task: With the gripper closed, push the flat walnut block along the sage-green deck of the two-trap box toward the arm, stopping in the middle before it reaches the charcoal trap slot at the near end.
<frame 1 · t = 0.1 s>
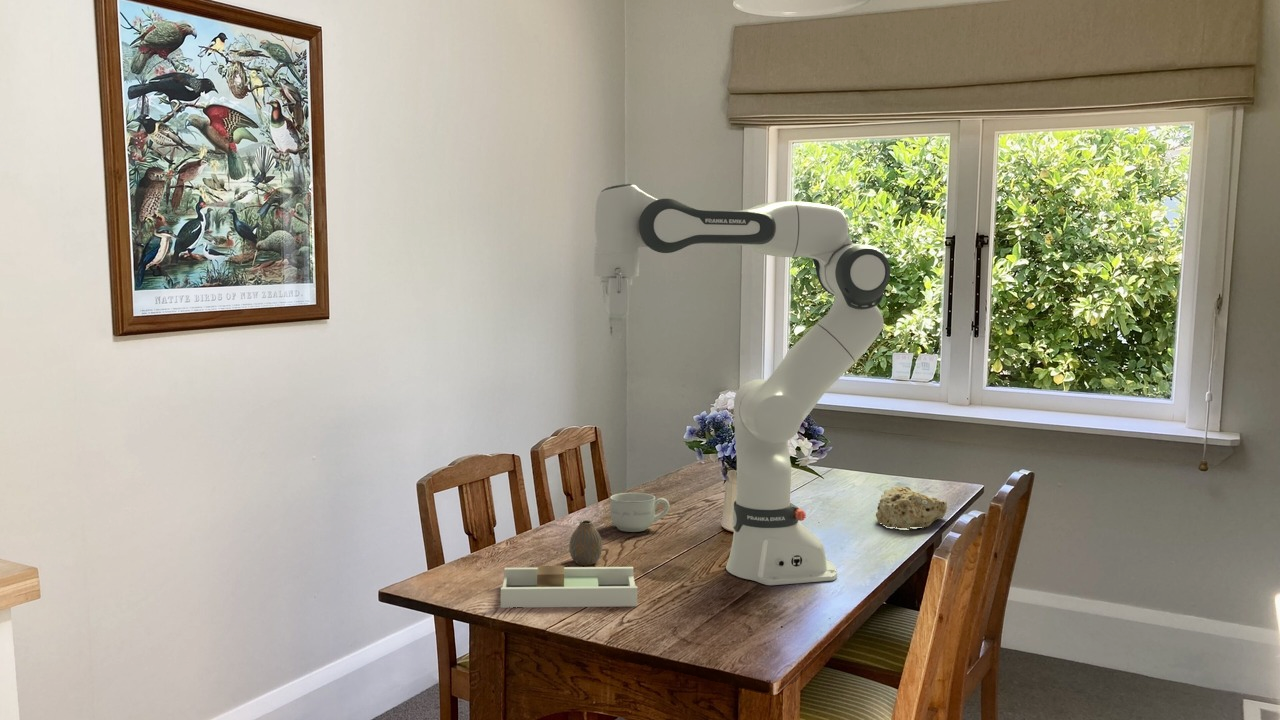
hand: (615, 337, 193), 48 cm above the table, fingers open, 8 cm apart
vase: (585, 563, 204), on the table
trap box: (569, 595, 184), on the table
walnut block: (550, 585, 184), point 2 cm above the table, touching trap box
rock: (910, 523, 240), on the table
teacup: (638, 530, 229), on the table
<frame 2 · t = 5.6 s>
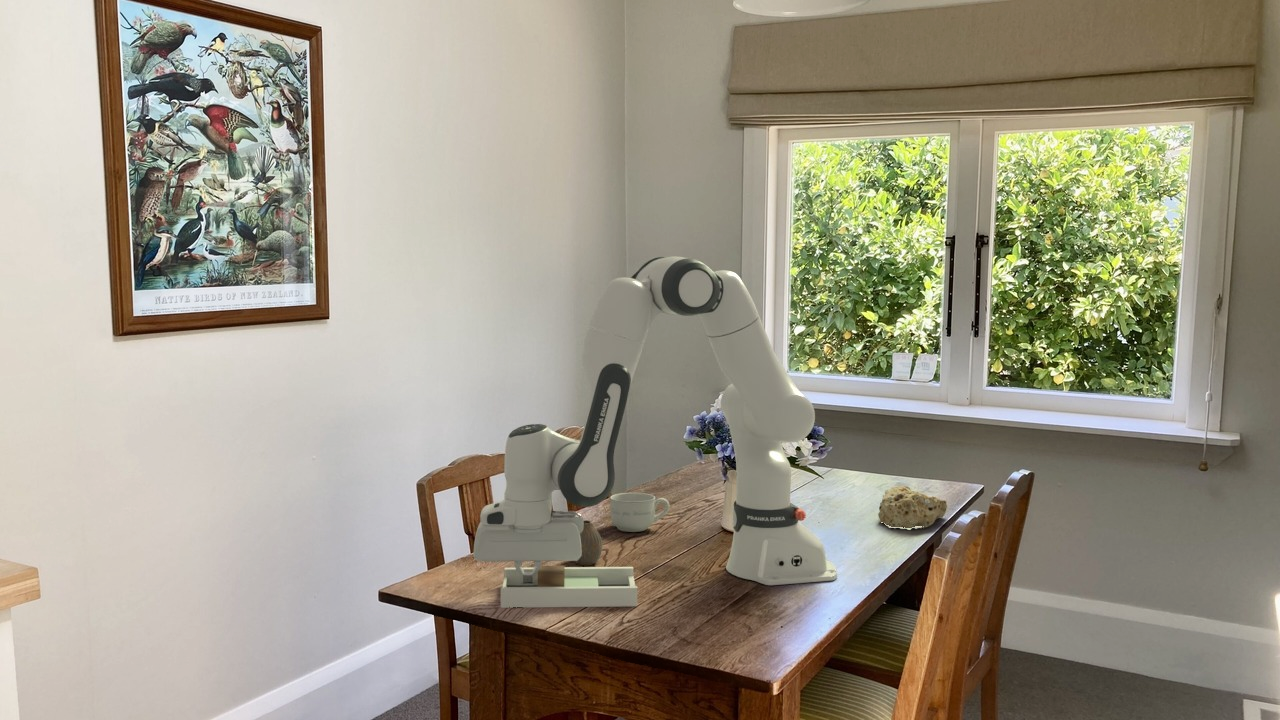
hand: (528, 582, 184), 3 cm above the table, fingers closed
walnut block: (551, 585, 184), point 2 cm above the table, touching gripper
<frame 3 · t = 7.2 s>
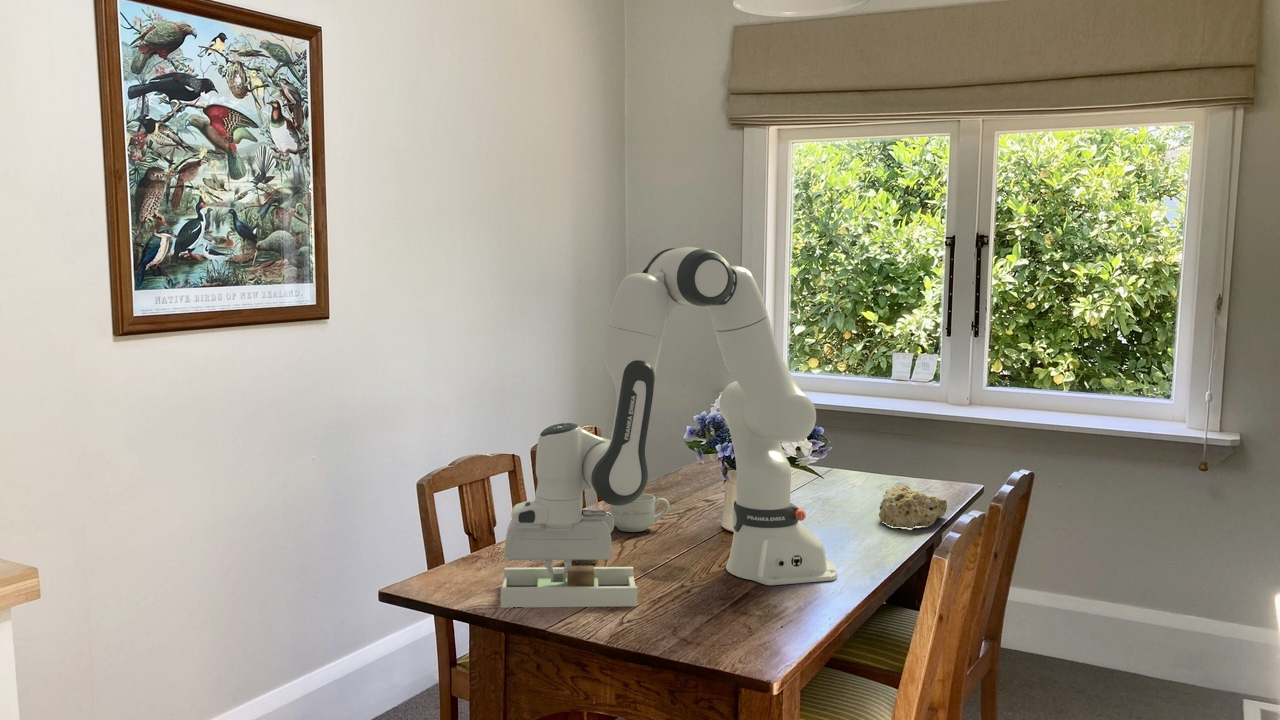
hand: (558, 581, 184), 3 cm above the table, fingers closed
walnut block: (580, 585, 184), point 2 cm above the table, touching gripper, trap box
everything else where it was.
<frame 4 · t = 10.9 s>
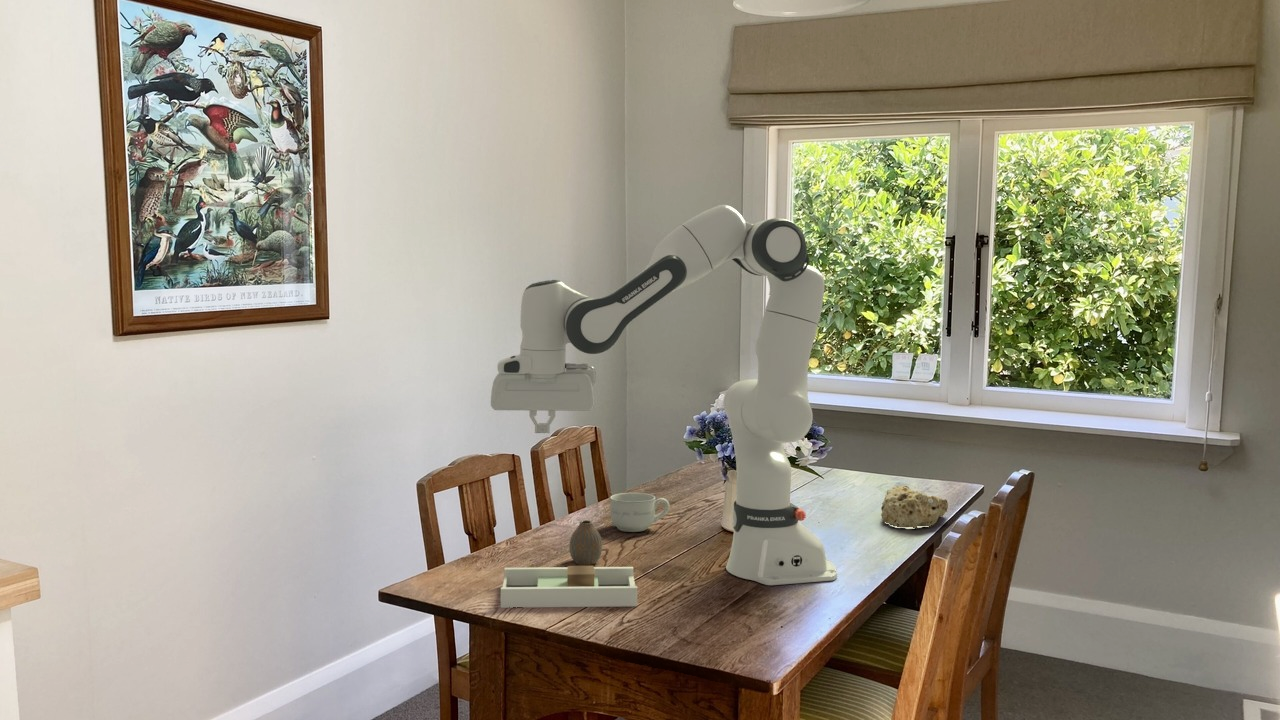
hand: (542, 432, 192), 29 cm above the table, fingers closed
walnut block: (580, 585, 184), point 2 cm above the table, touching trap box
at the end: walnut block 0.4 cm from the target spot, point 2.0 cm above the table; walnut block tilted 0°; walnut block moved 5.6 cm from its start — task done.
